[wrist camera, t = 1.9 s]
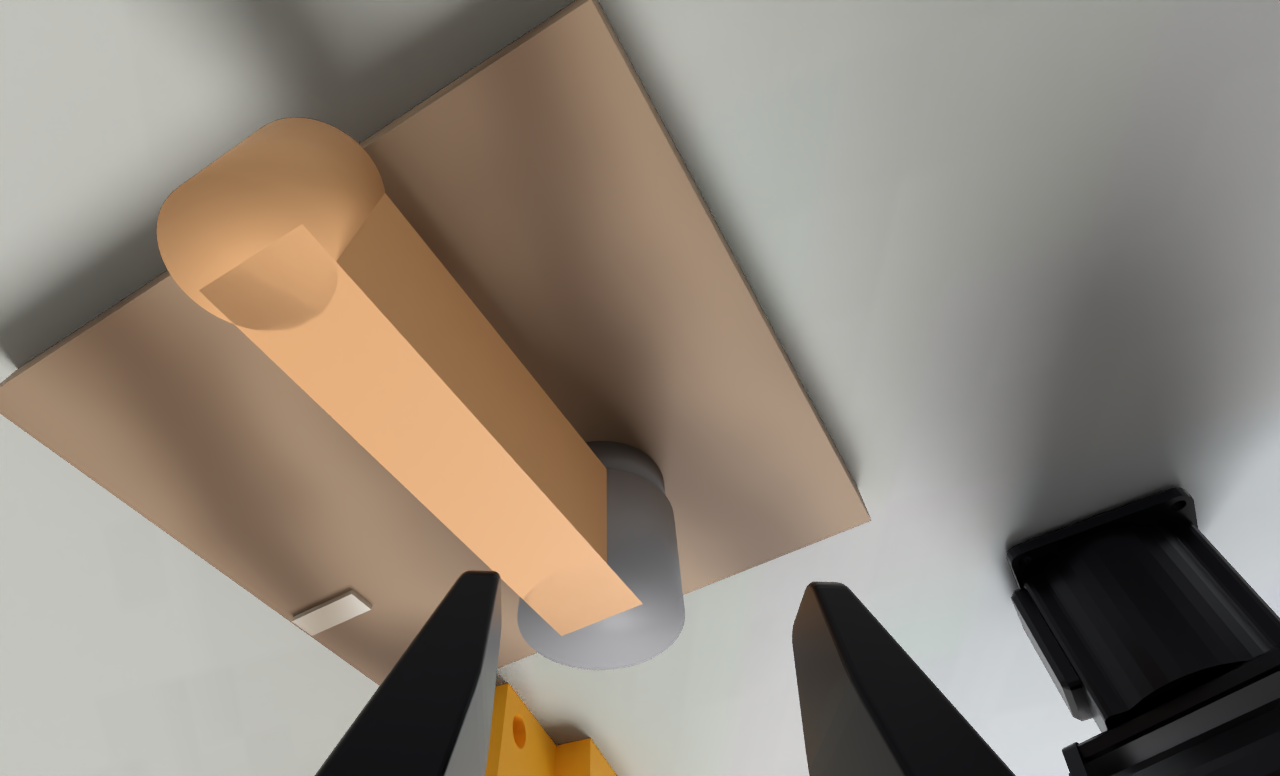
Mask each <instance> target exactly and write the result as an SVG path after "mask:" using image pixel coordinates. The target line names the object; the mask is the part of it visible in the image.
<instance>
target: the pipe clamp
mask: <svg viewBox="0 0 1280 776" xmlns="http://www.w3.org/2000/svg"><path fill="white" fill-rule="evenodd" d="M485 776H617V775H616V773H615V772H614V771H613V769H612V768H611V766H610V765H609V764H608V762H607V761H606V759H605V758H604V756H603V755H602V754H601V752H600V751H599V749H598V748H597V747H596V745H595V744H594V742H593V741H592V739H591V738H588V739H584V740H579V741H575V742H570V743H566V744H561V745H555V743H554V742H553V741H552V739H551V738H550V737H549V735H548V734H547V733H546V732H545V730H544V729H543V728H542V726H541V725H540V724H539V722H538V721H537V720H536V719H535V717H534V716H533V715H532V713H531V712H530V711H529V709H528V708H527V707H526V706H525V704H524V703H523V702H522V700H521V699H520V698H519V696H518V695H517V694H516V692H515V691H514V690H513V689H512V687H511V686H510V685H509V683H507V684H503V685H499V686H495V695H494V704H493V714H492V723H491V733H490V742H489V750H488V758H487V765H486V771H485Z"/></svg>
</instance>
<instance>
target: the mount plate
mask: <svg viewBox="0 0 1280 776" xmlns="http://www.w3.org/2000/svg"><path fill="white" fill-rule="evenodd" d="M359 145H360V146H361V147H362V148H363V149H364V150H365V151H366V152H367V154H368V155H369V156H370V158H371V159H372V161H373V162H374V164H375V165H376V167H377V169H378V171H379V173H380V176H381V178H382V181H383V185H384V189H385V193H386V195H387V196H388V197H389V198H390V200H391V201H392V202H393V203H394V204H395V206H396V207H397V208H398V209H399V211H400V212H401V213H402V214H403V216H404V217H405V218H406V219H407V221H408V222H409V223H410V224H411V226H412V227H413V228H414V229H415V231H416V232H417V233H418V234H419V236H420V237H421V238H422V239H423V241H424V242H425V243H426V244H427V246H428V247H429V248H430V249H431V251H432V252H433V253H434V254H435V256H436V257H437V258H438V259H439V261H440V262H441V263H442V264H443V266H444V267H445V268H446V269H447V271H448V272H449V273H450V274H451V276H452V277H453V278H454V279H455V281H456V282H457V283H458V284H459V285H460V287H461V288H462V289H463V290H464V292H465V293H466V294H467V295H468V297H469V298H470V299H471V300H472V302H473V303H474V304H475V305H476V307H477V308H478V309H479V310H480V312H481V313H482V314H483V315H484V317H485V318H486V319H487V320H488V322H489V323H490V324H491V325H492V327H493V328H494V329H495V330H496V332H497V333H498V334H499V335H500V337H501V338H502V339H503V340H504V342H505V343H506V344H507V345H508V347H509V348H510V349H511V350H512V352H513V353H514V354H515V355H516V357H517V358H518V359H519V360H520V362H521V363H522V364H523V365H524V367H525V368H526V369H527V370H528V371H529V373H530V374H531V375H532V376H533V378H534V379H535V380H536V381H537V383H538V384H539V385H540V386H541V388H542V389H543V390H544V391H545V393H546V394H547V395H548V396H549V398H550V399H551V400H552V401H553V403H554V404H555V405H556V406H557V408H558V409H559V410H560V411H561V413H562V414H563V415H564V416H565V418H566V419H567V420H568V421H569V423H570V424H571V425H572V426H573V428H574V429H575V430H576V431H577V433H578V434H579V435H580V436H581V438H582V439H583V440H584V441H585V443H586V444H587V445H588V446H589V448H590V449H591V450H592V451H593V452H594V454H595V455H596V456H597V457H598V459H599V460H600V461H601V462H602V464H603V465H604V466H605V467H606V469H615V470H621V471H626V472H630V473H633V474H636V475H638V476H641V477H643V478H645V479H647V480H648V481H650V482H652V483H653V484H655V485H656V486H657V487H658V488H659V489H660V490H661V491H662V492H663V493H664V494H665V495H666V497H667V498H668V500H669V501H670V503H671V506H672V508H673V512H674V519H675V528H676V537H677V546H678V555H679V564H680V573H681V582H682V591H683V595H684V594H687V593H689V592H692V591H694V590H697V589H699V588H702V587H704V586H707V585H709V584H712V583H714V582H717V581H720V580H722V579H725V578H727V577H730V576H732V575H735V574H737V573H740V572H742V571H745V570H747V569H750V568H752V567H755V566H758V565H760V564H763V563H765V562H768V561H770V560H773V559H775V558H778V557H780V556H783V555H785V554H788V553H790V552H793V551H795V550H798V549H801V548H803V547H806V546H808V545H811V544H813V543H816V542H818V541H821V540H823V539H826V538H828V537H831V536H833V535H836V534H838V533H841V532H844V531H846V530H849V529H851V528H854V527H856V526H859V525H861V524H864V523H866V522H869V521H871V519H870V516H869V514H868V511H867V509H866V507H865V504H864V502H863V499H862V497H861V495H860V492H859V490H858V488H857V486H856V484H855V482H854V481H853V479H852V477H851V475H850V473H849V471H848V469H847V467H846V465H845V464H844V462H843V460H842V458H841V456H840V454H839V452H838V450H837V449H836V447H835V445H834V443H833V441H832V439H831V437H830V435H829V434H828V432H827V430H826V428H825V426H824V424H823V422H822V420H821V419H820V417H819V415H818V413H817V411H816V409H815V407H814V405H813V404H812V402H811V400H810V398H809V396H808V394H807V392H806V390H805V389H804V387H803V385H802V383H801V381H800V379H799V377H798V375H797V374H796V372H795V370H794V368H793V366H792V364H791V362H790V360H789V359H788V357H787V355H786V353H785V351H784V349H783V347H782V345H781V344H780V342H779V340H778V338H777V336H776V334H775V332H774V330H773V329H772V327H771V325H770V323H769V321H768V319H767V317H766V315H765V314H764V312H763V310H762V308H761V306H760V304H759V302H758V300H757V299H756V297H755V295H754V293H753V291H752V289H751V287H750V285H749V284H748V282H747V280H746V278H745V276H744V274H743V272H742V270H741V269H740V267H739V265H738V263H737V261H736V259H735V257H734V255H733V254H732V252H731V250H730V248H729V246H728V244H727V242H726V240H725V239H724V237H723V235H722V233H721V231H720V229H719V227H718V225H717V224H716V222H715V220H714V218H713V216H712V214H711V212H710V210H709V209H708V207H707V205H706V203H705V201H704V199H703V197H702V195H701V194H700V192H699V190H698V188H697V186H696V184H695V182H694V180H693V179H692V177H691V175H690V173H689V171H688V169H687V167H686V165H685V164H684V162H683V160H682V158H681V156H680V154H679V152H678V150H677V149H676V147H675V145H674V143H673V141H672V139H671V137H670V135H669V134H668V132H667V130H666V128H665V126H664V124H663V122H662V120H661V119H660V117H659V115H658V113H657V111H656V109H655V107H654V105H653V104H652V102H651V100H650V98H649V96H648V94H647V92H646V90H645V89H644V87H643V85H642V83H641V81H640V79H639V77H638V75H637V74H636V72H635V70H634V68H633V66H632V64H631V62H630V60H629V59H628V57H627V55H626V53H625V51H624V49H623V47H622V45H621V44H620V42H619V40H618V38H617V36H616V34H615V32H614V30H613V29H612V27H611V25H610V23H609V21H608V19H607V17H606V15H605V14H604V12H603V10H602V8H601V6H600V4H599V2H598V0H576V1H575V2H573V3H572V4H570V5H569V6H567V7H565V8H564V9H562V10H561V11H559V12H558V13H556V14H555V15H553V16H552V17H550V18H549V19H547V20H546V21H544V22H543V23H541V24H540V25H538V26H537V27H535V28H534V29H532V30H531V31H529V32H528V33H526V34H525V35H523V36H522V37H520V38H519V39H517V40H516V41H514V42H512V43H511V44H509V45H508V46H506V47H505V48H503V49H502V50H500V51H499V52H497V53H496V54H494V55H493V56H491V57H490V58H488V59H487V60H485V61H484V62H482V63H481V64H479V65H478V66H476V67H475V68H473V69H472V70H470V71H469V72H467V73H466V74H464V75H463V76H461V77H460V78H458V79H456V80H455V81H453V82H452V83H450V84H449V85H447V86H446V87H444V88H443V89H441V90H440V91H438V92H437V93H435V94H434V95H432V96H431V97H429V98H428V99H426V100H425V101H423V102H422V103H420V104H419V105H417V106H416V107H414V108H413V109H411V110H410V111H408V112H407V113H405V114H403V115H402V116H400V117H399V118H397V119H396V120H394V121H393V122H391V123H390V124H388V125H387V126H385V127H384V128H382V129H381V130H379V131H378V132H376V133H375V134H373V135H372V136H370V137H369V138H367V139H366V140H364V141H363V142H361V143H360V144H359ZM0 414H2V415H3V416H4V417H6V418H7V419H9V420H10V421H11V422H13V423H14V424H16V425H17V426H18V427H20V428H21V429H22V430H24V431H25V432H27V433H28V434H29V435H31V436H32V437H34V438H35V439H36V440H38V441H39V442H41V443H42V444H43V445H45V446H46V447H48V448H49V449H50V450H52V451H53V452H55V453H56V454H57V455H59V456H60V457H62V458H63V459H64V460H66V461H67V462H68V463H70V464H71V465H73V466H74V467H75V468H77V469H78V470H80V471H81V472H82V473H84V474H85V475H87V476H88V477H89V478H91V479H92V480H94V481H95V482H96V483H98V484H99V485H101V486H102V487H103V488H105V489H106V490H108V491H109V492H110V493H112V494H113V495H115V496H116V497H117V498H119V499H120V500H121V501H123V502H124V503H126V504H127V505H128V506H130V507H131V508H133V509H134V510H135V511H137V512H138V513H140V514H141V515H142V516H144V517H145V518H147V519H148V520H149V521H151V522H152V523H154V524H155V525H156V526H158V527H159V528H161V529H162V530H163V531H165V532H166V533H167V534H169V535H170V536H172V537H173V538H174V539H176V540H177V541H179V542H180V543H181V544H183V545H184V546H186V547H187V548H188V549H190V550H191V551H193V552H194V553H195V554H197V555H198V556H200V557H201V558H202V559H204V560H205V561H207V562H208V563H209V564H211V565H212V566H213V567H215V568H216V569H218V570H219V571H220V572H222V573H223V574H225V575H226V576H227V577H229V578H230V579H232V580H233V581H234V582H236V583H237V584H239V585H240V586H241V587H243V588H244V589H246V590H247V591H248V592H250V593H251V594H253V595H254V596H255V597H257V598H258V599H260V600H261V601H262V602H264V603H265V604H266V605H268V606H269V607H271V608H272V609H273V610H275V611H276V612H278V613H279V614H280V615H282V616H283V617H285V618H286V619H287V620H289V621H290V622H292V623H293V624H294V625H296V626H297V627H299V628H300V629H301V630H303V631H304V632H306V633H307V634H308V635H310V636H311V637H312V638H314V639H315V640H317V641H318V642H319V643H321V644H322V645H324V646H325V647H326V648H328V649H329V650H331V651H332V652H333V653H335V654H336V655H338V656H339V657H340V658H342V659H343V660H345V661H346V662H347V663H349V664H350V665H352V666H353V667H354V668H356V669H357V670H359V671H360V672H361V673H363V674H364V675H365V676H367V677H368V678H370V679H371V680H372V681H374V682H375V683H377V684H378V685H379V686H380V685H381V684H382V682H383V681H384V680H385V678H386V677H387V675H388V674H389V673H390V671H391V670H392V669H393V667H394V666H395V664H396V663H397V662H398V660H399V659H400V658H401V656H402V655H403V653H404V652H405V651H406V649H407V648H408V646H409V645H410V644H411V642H412V641H413V640H414V638H415V637H416V635H417V634H418V633H419V631H420V630H421V629H422V627H423V626H424V624H425V623H426V622H427V620H428V619H429V618H430V616H431V615H432V613H433V612H434V611H435V609H436V608H437V607H438V605H439V604H440V602H441V601H442V600H443V598H444V597H445V595H446V594H447V593H448V591H449V590H450V589H451V587H452V586H453V584H454V583H455V582H456V580H457V579H458V578H459V576H460V575H461V574H462V573H463V572H465V571H468V570H480V571H493V570H491V569H490V568H489V567H488V566H487V565H486V564H485V563H484V562H483V561H482V560H481V559H480V558H479V557H478V556H477V555H476V554H475V553H474V552H473V551H472V550H470V549H469V548H468V547H467V546H466V545H465V544H464V543H463V542H462V541H461V540H460V539H459V538H458V537H457V536H456V535H455V534H454V533H453V532H452V531H451V530H450V529H448V528H447V527H446V526H445V525H444V524H443V523H442V522H441V521H440V520H439V519H438V518H437V517H436V516H435V515H434V514H433V513H432V512H431V511H430V510H429V509H427V508H426V507H425V506H424V505H423V504H422V503H421V502H420V501H419V500H418V499H417V498H416V497H415V496H414V495H413V494H412V493H411V492H410V491H409V490H408V489H406V488H405V487H404V486H403V485H402V484H401V483H400V482H399V481H398V480H397V479H396V478H395V477H394V476H393V475H392V474H391V473H390V472H389V471H388V470H387V469H386V468H384V467H383V466H382V465H381V464H380V463H379V462H378V461H377V460H376V459H375V458H374V457H373V456H372V455H371V454H370V453H369V452H368V451H367V450H366V449H365V448H363V447H362V446H361V445H360V444H359V443H358V442H357V441H356V440H355V439H354V438H353V437H352V436H351V435H350V434H349V433H348V432H347V431H346V430H345V429H344V428H342V427H341V426H340V425H339V424H338V423H337V422H336V421H335V420H334V419H333V418H332V417H331V416H330V415H329V414H328V413H327V412H326V411H325V410H324V409H323V408H322V407H320V406H319V405H318V404H317V403H316V402H315V401H314V400H313V399H312V398H311V397H310V396H309V395H308V394H307V393H306V392H305V391H304V390H303V389H302V388H301V387H299V386H298V385H297V384H296V383H295V382H294V381H293V380H292V379H291V378H290V377H289V376H288V375H287V374H286V373H285V372H284V371H283V370H282V369H281V368H280V367H278V366H277V365H276V364H275V363H274V362H273V361H272V360H271V359H270V358H269V357H268V356H267V355H266V354H265V353H264V352H263V351H262V350H261V349H260V348H259V347H257V346H256V345H255V344H254V343H253V342H252V341H251V340H250V339H249V338H248V337H247V336H246V335H245V334H244V333H243V332H242V331H241V330H240V329H239V328H238V327H237V326H235V325H234V324H232V323H229V322H227V321H225V320H223V319H220V318H218V317H217V316H215V315H213V314H211V313H210V312H208V311H206V310H205V309H204V308H202V307H201V306H199V305H198V304H197V303H196V302H194V301H193V300H192V299H191V298H190V297H189V296H188V295H187V294H186V293H185V292H184V291H183V290H182V289H181V288H180V287H179V286H178V284H177V283H176V282H175V280H174V279H173V278H172V276H171V274H170V273H169V271H168V270H167V271H166V272H164V273H163V274H161V275H160V276H158V277H157V278H155V279H154V280H152V281H151V282H149V283H148V284H146V285H145V286H143V287H142V288H140V289H139V290H137V291H136V292H134V293H132V294H131V295H129V296H128V297H126V298H125V299H123V300H122V301H120V302H119V303H117V304H116V305H114V306H113V307H111V308H110V309H108V310H107V311H105V312H104V313H102V314H101V315H99V316H98V317H96V318H95V319H93V320H92V321H90V322H89V323H87V324H86V325H84V326H83V327H81V328H80V329H78V330H76V331H75V332H73V333H72V334H70V335H69V336H67V337H66V338H64V339H63V340H61V341H60V342H58V343H57V344H55V345H54V346H52V347H51V348H49V349H48V350H46V351H45V352H43V353H42V354H40V355H39V356H37V357H36V358H34V359H33V360H31V361H30V362H28V363H27V364H25V365H23V366H22V367H20V368H19V369H17V370H16V371H15V372H14V373H12V374H11V375H10V376H9V377H8V378H6V379H5V380H4V381H3V382H2V383H0ZM518 605H519V595H518V594H517V593H516V592H515V591H514V590H512V589H511V588H510V587H509V586H508V585H507V584H506V583H505V582H504V581H503V580H502V579H501V609H502V624H501V637H500V647H499V656H498V666H497V668H499V667H502V666H504V665H507V664H510V663H512V662H515V661H517V660H520V659H522V658H525V657H527V656H530V655H532V654H535V653H537V652H536V651H535V650H534V649H533V648H531V646H530V645H529V644H528V643H527V642H526V641H525V639H524V638H523V637H522V635H521V633H520V630H519V627H518V623H517V613H518Z"/></svg>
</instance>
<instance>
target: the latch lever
mask: <svg viewBox="0 0 1280 776" xmlns="http://www.w3.org/2000/svg"><path fill="white" fill-rule="evenodd" d="M157 242H158V247H159V251H160V254H161V257H162V259H163V262H164V264H165V266H166V268H167V270H168V271H169V273H170V274H171V276H172V278H173V279H174V280H175V282H176V283H177V284H178V286H179V287H180V288H181V289H182V290H183V291H184V292H185V293H186V294H187V295H188V296H189V297H190V298H191V299H192V300H193V301H194V302H196V303H197V304H198V305H199V306H201V307H202V308H204V309H205V310H206V311H208V312H210V313H211V314H213V315H215V316H217V317H218V318H220V319H223V320H225V321H227V322H229V323H232V324H234V325H235V326H237V327H238V328H239V329H240V330H241V331H242V332H243V333H244V334H245V335H246V336H247V337H248V338H249V339H250V340H251V341H252V342H253V343H254V344H255V345H256V346H257V347H259V348H260V349H261V350H262V351H263V352H264V353H265V354H266V355H267V356H268V357H269V358H270V359H271V360H272V361H273V362H274V363H275V364H276V365H277V366H278V367H280V368H281V369H282V370H283V371H284V372H285V373H286V374H287V375H288V376H289V377H290V378H291V379H292V380H293V381H294V382H295V383H296V384H297V385H298V386H299V387H301V388H302V389H303V390H304V391H305V392H306V393H307V394H308V395H309V396H310V397H311V398H312V399H313V400H314V401H315V402H316V403H317V404H318V405H319V406H320V407H322V408H323V409H324V410H325V411H326V412H327V413H328V414H329V415H330V416H331V417H332V418H333V419H334V420H335V421H336V422H337V423H338V424H339V425H340V426H341V427H342V428H344V429H345V430H346V431H347V432H348V433H349V434H350V435H351V436H352V437H353V438H354V439H355V440H356V441H357V442H358V443H359V444H360V445H361V446H362V447H363V448H365V449H366V450H367V451H368V452H369V453H370V454H371V455H372V456H373V457H374V458H375V459H376V460H377V461H378V462H379V463H380V464H381V465H382V466H383V467H384V468H386V469H387V470H388V471H389V472H390V473H391V474H392V475H393V476H394V477H395V478H396V479H397V480H398V481H399V482H400V483H401V484H402V485H403V486H404V487H405V488H406V489H408V490H409V491H410V492H411V493H412V494H413V495H414V496H415V497H416V498H417V499H418V500H419V501H420V502H421V503H422V504H423V505H424V506H425V507H426V508H427V509H429V510H430V511H431V512H432V513H433V514H434V515H435V516H436V517H437V518H438V519H439V520H440V521H441V522H442V523H443V524H444V525H445V526H446V527H447V528H448V529H450V530H451V531H452V532H453V533H454V534H455V535H456V536H457V537H458V538H459V539H460V540H461V541H462V542H463V543H464V544H465V545H466V546H467V547H468V548H469V549H470V550H472V551H473V552H474V553H475V554H476V555H477V556H478V557H479V558H480V559H481V560H482V561H483V562H484V563H485V564H486V565H487V566H488V567H489V568H490V569H491V570H493V571H495V572H498V573H499V575H500V577H501V579H502V580H503V581H504V582H505V583H506V584H507V585H508V586H509V587H510V588H511V589H512V590H514V591H515V592H516V593H517V594H518V595H519V605H518V613H517V623H518V627H519V630H520V633H521V635H522V637H523V638H524V639H525V641H526V642H527V643H528V644H529V645H530V646H531V648H533V649H534V650H535V651H536V652H538V653H539V654H541V655H542V656H544V657H546V658H548V659H550V660H552V661H554V662H557V663H560V664H562V665H566V666H570V667H574V668H580V669H589V670H610V669H618V668H624V667H629V666H633V665H636V664H639V663H642V662H645V661H647V660H649V659H652V658H653V657H655V656H657V655H659V654H660V653H662V652H663V651H665V650H666V649H667V648H668V647H669V646H671V645H672V644H673V642H674V641H675V640H676V639H677V638H678V636H679V634H680V633H681V631H682V628H683V625H684V620H685V609H684V600H683V591H682V582H681V573H680V564H679V555H678V546H677V537H676V528H675V519H674V512H673V508H672V506H671V503H670V501H669V500H668V498H667V497H666V495H665V494H664V493H663V492H662V491H661V490H660V489H659V488H658V487H657V486H656V485H655V484H653V483H652V482H650V481H648V480H647V479H645V478H643V477H641V476H638V475H636V474H633V473H630V472H626V471H621V470H615V469H606V467H605V466H604V465H603V464H602V462H601V461H600V460H599V459H598V457H597V456H596V455H595V454H594V452H593V451H592V450H591V449H590V448H589V446H588V445H587V444H586V443H585V441H584V440H583V439H582V438H581V436H580V435H579V434H578V433H577V431H576V430H575V429H574V428H573V426H572V425H571V424H570V423H569V421H568V420H567V419H566V418H565V416H564V415H563V414H562V413H561V411H560V410H559V409H558V408H557V406H556V405H555V404H554V403H553V401H552V400H551V399H550V398H549V396H548V395H547V394H546V393H545V391H544V390H543V389H542V388H541V386H540V385H539V384H538V383H537V381H536V380H535V379H534V378H533V376H532V375H531V374H530V373H529V371H528V370H527V369H526V368H525V367H524V365H523V364H522V363H521V362H520V360H519V359H518V358H517V357H516V355H515V354H514V353H513V352H512V350H511V349H510V348H509V347H508V345H507V344H506V343H505V342H504V340H503V339H502V338H501V337H500V335H499V334H498V333H497V332H496V330H495V329H494V328H493V327H492V325H491V324H490V323H489V322H488V320H487V319H486V318H485V317H484V315H483V314H482V313H481V312H480V310H479V309H478V308H477V307H476V305H475V304H474V303H473V302H472V300H471V299H470V298H469V297H468V295H467V294H466V293H465V292H464V290H463V289H462V288H461V287H460V285H459V284H458V283H457V282H456V281H455V279H454V278H453V277H452V276H451V274H450V273H449V272H448V271H447V269H446V268H445V267H444V266H443V264H442V263H441V262H440V261H439V259H438V258H437V257H436V256H435V254H434V253H433V252H432V251H431V249H430V248H429V247H428V246H427V244H426V243H425V242H424V241H423V239H422V238H421V237H420V236H419V234H418V233H417V232H416V231H415V229H414V228H413V227H412V226H411V224H410V223H409V222H408V221H407V219H406V218H405V217H404V216H403V214H402V213H401V212H400V211H399V209H398V208H397V207H396V206H395V204H394V203H393V202H392V201H391V200H390V198H389V197H388V196H387V195H386V193H385V189H384V185H383V181H382V178H381V176H380V173H379V171H378V169H377V167H376V165H375V164H374V162H373V161H372V159H371V158H370V156H369V155H368V154H367V152H366V151H365V150H364V149H363V148H362V147H361V146H360V145H359V144H358V143H357V142H356V141H355V140H354V139H352V138H351V137H350V136H348V135H347V134H346V133H344V132H342V131H341V130H339V129H337V128H336V127H333V126H331V125H329V124H327V123H324V122H321V121H318V120H313V119H308V118H297V117H295V118H284V119H280V120H276V121H273V122H271V123H268V124H267V125H265V126H263V127H262V128H260V129H259V130H257V131H256V132H255V133H253V134H252V135H250V136H249V137H248V138H246V139H245V140H243V141H242V142H241V143H239V144H238V145H236V146H235V147H234V148H232V149H231V150H229V151H228V152H227V153H225V154H224V155H222V156H221V157H220V158H218V159H217V160H215V161H214V162H213V163H211V164H210V165H208V166H207V167H206V168H204V169H203V170H201V171H200V172H199V173H197V174H196V175H195V176H193V177H192V178H190V179H189V180H188V181H186V182H185V183H183V184H182V185H181V186H179V187H178V188H177V189H176V190H174V191H173V192H172V193H171V194H170V195H169V197H168V198H167V199H166V200H165V202H164V204H163V206H162V208H161V210H160V213H159V216H158V221H157Z"/></svg>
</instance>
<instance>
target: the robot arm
mask: <svg viewBox="0 0 1280 776" xmlns="http://www.w3.org/2000/svg"><path fill="white" fill-rule="evenodd" d="M1007 560H1008V562H1009V565H1010V567H1011V570H1012V572H1013V575H1014V578H1015V580H1016V583H1017V585H1018V588H1019V589H1018V590H1015V591H1013V594H1012V597H1011V599H1012V601H1013V604H1014V606H1015V609H1016V611H1017V613H1018V616H1019V618H1020V621H1021V623H1022V626H1023V628H1024V630H1025V632H1026V634H1027V636H1028V637H1029V639H1030V641H1031V643H1032V644H1033V646H1034V648H1035V650H1036V652H1037V653H1038V655H1039V657H1040V659H1041V660H1042V662H1043V664H1044V666H1045V668H1046V669H1047V671H1048V673H1049V675H1050V677H1051V678H1052V680H1053V682H1054V684H1055V685H1056V687H1057V689H1058V691H1059V693H1060V694H1061V696H1062V698H1063V700H1064V701H1065V703H1066V705H1067V707H1068V709H1069V710H1070V712H1071V714H1072V716H1073V717H1074V718H1077V719H1079V720H1081V721H1084V720H1088V719H1091V718H1093V719H1094V720H1095V722H1096V724H1097V725H1098V727H1099V729H1100V731H1101V732H1102V733H1100V734H1098V735H1096V736H1094V737H1092V738H1090V739H1088V740H1086V741H1084V742H1082V743H1080V744H1079V743H1077V742H1075V743H1073V744H1071V745H1069V746H1067V747H1065V748H1063V749H1062V752H1063V755H1064V758H1065V760H1066V763H1067V766H1068V769H1069V771H1070V773H1069V776H1280V618H1279V617H1278V616H1277V615H1276V613H1275V612H1274V611H1273V610H1272V609H1271V608H1270V607H1269V606H1268V605H1267V604H1266V603H1265V602H1264V600H1263V599H1262V598H1261V597H1260V596H1259V595H1258V594H1257V593H1256V592H1255V591H1254V590H1253V588H1252V587H1251V586H1250V585H1249V584H1248V583H1247V582H1246V581H1245V580H1244V579H1243V578H1242V576H1241V575H1240V574H1239V573H1238V572H1237V571H1236V570H1235V569H1234V568H1233V567H1232V566H1231V564H1230V563H1229V562H1228V561H1227V560H1226V559H1225V558H1224V557H1223V556H1222V555H1221V554H1220V552H1219V551H1218V550H1217V549H1216V548H1215V547H1214V546H1213V545H1212V544H1211V543H1210V542H1209V541H1208V539H1207V538H1206V537H1205V536H1204V535H1203V534H1202V533H1201V532H1200V531H1199V530H1198V526H1197V519H1196V512H1195V506H1194V500H1193V498H1192V497H1191V496H1190V495H1189V494H1188V493H1187V492H1186V491H1185V490H1184V489H1182V488H1173V489H1169V490H1167V491H1164V492H1161V493H1158V494H1156V495H1153V496H1150V497H1147V498H1145V499H1142V500H1139V501H1136V502H1134V503H1131V504H1128V505H1126V506H1123V507H1120V508H1117V509H1115V510H1112V511H1109V512H1106V513H1104V514H1101V515H1098V516H1096V517H1093V518H1090V519H1087V520H1085V521H1082V522H1079V523H1076V524H1074V525H1071V526H1068V527H1065V528H1063V529H1060V530H1057V531H1055V532H1052V533H1049V534H1046V535H1044V536H1041V537H1038V538H1035V539H1033V540H1030V541H1027V542H1025V543H1022V544H1019V545H1016V546H1014V547H1013V548H1011V549H1010V550H1009V551H1008V553H1007ZM501 624H502V609H501V577H500V575H499V573H498V572H495V571H480V570H468V571H465V572H463V573H462V574H461V575H460V576H459V578H458V579H457V580H456V582H455V583H454V584H453V586H452V587H451V589H450V590H449V591H448V593H447V594H446V595H445V597H444V598H443V600H442V601H441V602H440V604H439V605H438V607H437V608H436V609H435V611H434V612H433V613H432V615H431V616H430V618H429V619H428V620H427V622H426V623H425V624H424V626H423V627H422V629H421V630H420V631H419V633H418V634H417V635H416V637H415V638H414V640H413V641H412V642H411V644H410V645H409V646H408V648H407V649H406V651H405V652H404V653H403V655H402V656H401V658H400V659H399V660H398V662H397V663H396V664H395V666H394V667H393V669H392V670H391V671H390V673H389V674H388V675H387V677H386V678H385V680H384V681H383V682H382V684H381V685H380V686H379V688H378V689H377V691H376V692H375V693H374V695H373V696H372V697H371V699H370V700H369V702H368V703H367V704H366V706H365V707H364V708H363V710H362V711H361V713H360V714H359V715H358V717H357V718H356V720H355V721H354V722H353V724H352V725H351V726H350V728H349V729H348V731H347V732H346V733H345V735H344V736H343V737H342V739H341V740H340V742H339V743H338V744H337V746H336V747H335V748H334V750H333V751H332V753H331V754H330V755H329V757H328V758H327V759H326V761H325V762H324V764H323V765H322V766H321V768H320V769H319V771H318V772H317V773H316V775H315V776H485V771H486V765H487V758H488V750H489V742H490V733H491V723H492V714H493V704H494V695H495V685H496V675H497V666H498V656H499V647H500V637H501ZM792 643H793V652H794V660H795V668H796V676H797V684H798V692H799V700H800V708H801V716H802V724H803V732H804V740H805V748H806V755H807V762H808V769H809V774H810V776H1015V774H1014V773H1013V772H1012V771H1011V770H1010V769H1009V768H1008V767H1007V765H1006V764H1005V763H1004V762H1003V761H1002V760H1001V759H1000V758H999V756H998V755H997V754H996V753H995V752H994V751H993V750H992V749H991V747H990V746H989V745H988V744H987V743H986V742H985V741H984V740H983V738H982V737H981V736H980V735H979V734H978V733H977V732H976V731H975V729H974V728H973V727H972V726H971V725H970V724H969V723H968V722H967V720H966V719H965V718H964V717H963V716H962V715H961V714H960V713H959V711H958V710H957V709H956V708H955V707H954V706H953V705H952V704H951V702H950V701H949V700H948V699H947V698H946V697H945V696H944V695H943V693H942V692H941V691H940V690H939V689H938V688H937V687H936V686H935V684H934V683H933V682H932V681H931V680H930V679H929V678H928V677H927V675H926V674H925V673H924V672H923V671H922V670H921V669H920V668H919V666H918V665H917V664H916V663H915V662H914V661H913V660H912V659H911V657H910V656H909V655H908V654H907V653H906V652H905V651H904V650H903V648H902V647H901V646H900V645H899V644H898V643H897V642H896V641H895V639H894V638H893V637H892V636H891V635H890V634H889V633H888V632H887V630H886V629H885V628H884V627H883V626H882V625H881V624H880V623H879V621H878V620H877V619H876V618H875V617H874V616H873V615H872V614H871V612H870V611H869V610H868V609H867V608H866V607H865V606H864V605H863V603H862V602H861V601H860V600H859V599H858V598H857V597H856V596H855V594H854V593H853V592H852V591H851V590H850V589H849V588H848V587H847V586H845V585H844V584H842V583H837V582H812V583H810V584H809V585H808V586H807V588H806V590H805V593H804V595H803V598H802V601H801V604H800V607H799V610H798V613H797V616H796V619H795V621H794V625H793V631H792Z"/></svg>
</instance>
